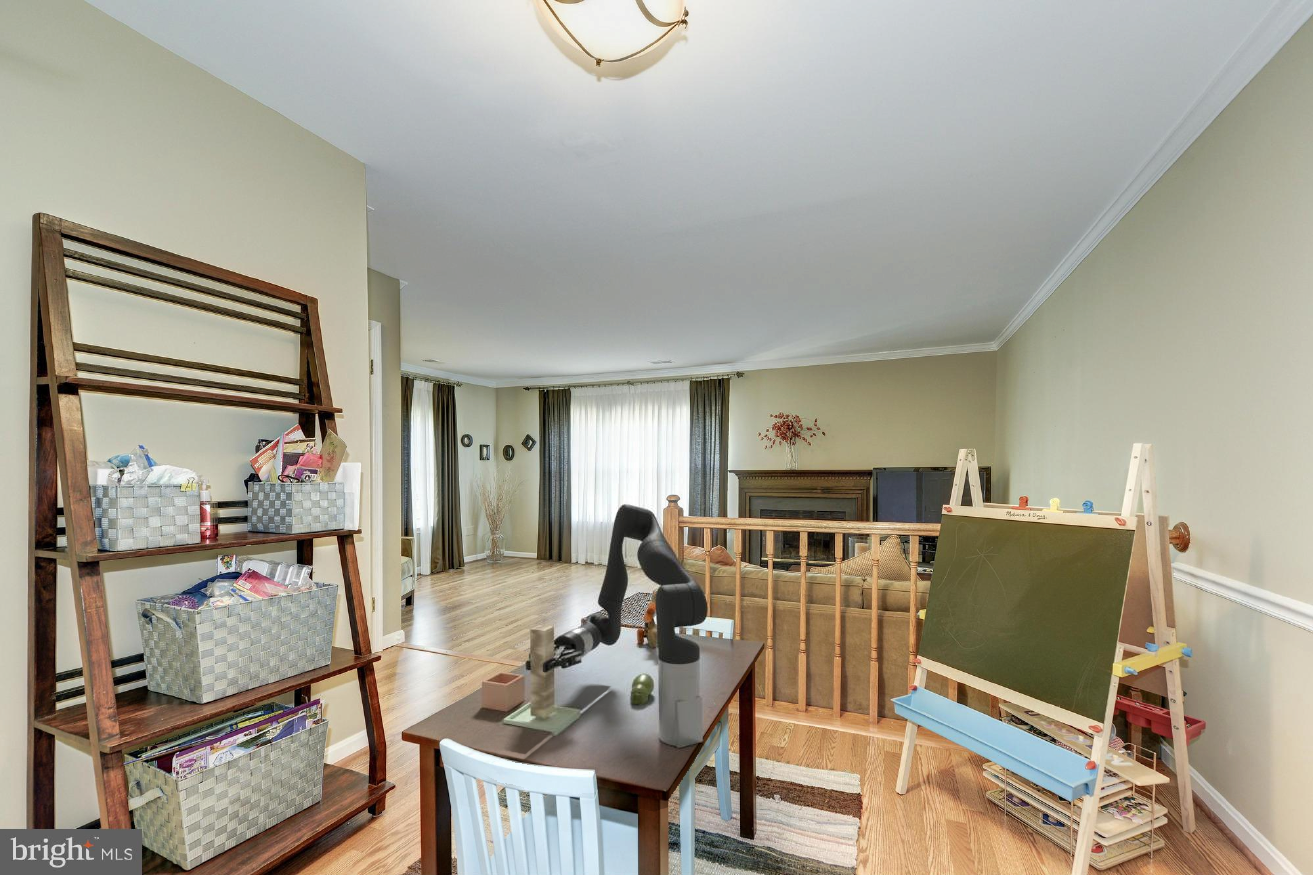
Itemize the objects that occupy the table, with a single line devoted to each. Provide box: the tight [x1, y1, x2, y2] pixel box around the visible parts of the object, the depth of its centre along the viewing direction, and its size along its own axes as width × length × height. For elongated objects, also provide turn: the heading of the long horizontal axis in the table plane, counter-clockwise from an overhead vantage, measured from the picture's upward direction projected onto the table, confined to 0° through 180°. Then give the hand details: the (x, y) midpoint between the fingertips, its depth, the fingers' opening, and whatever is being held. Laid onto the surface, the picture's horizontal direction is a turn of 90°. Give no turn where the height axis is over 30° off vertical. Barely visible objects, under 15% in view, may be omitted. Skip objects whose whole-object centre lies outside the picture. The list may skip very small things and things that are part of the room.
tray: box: [503, 701, 581, 737], centre depth 140 cm, size 14×11×2 cm
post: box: [529, 624, 555, 718], centre depth 141 cm, size 4×4×20 cm
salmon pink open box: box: [481, 671, 526, 712], centre depth 149 cm, size 7×7×7 cm
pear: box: [629, 673, 655, 705], centre depth 154 cm, size 6×5×10 cm
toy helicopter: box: [636, 601, 658, 649], centre depth 195 cm, size 8×21×14 cm, turn 11°
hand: (535, 666), depth 138 cm, fingers closed on post, 4 cm apart
